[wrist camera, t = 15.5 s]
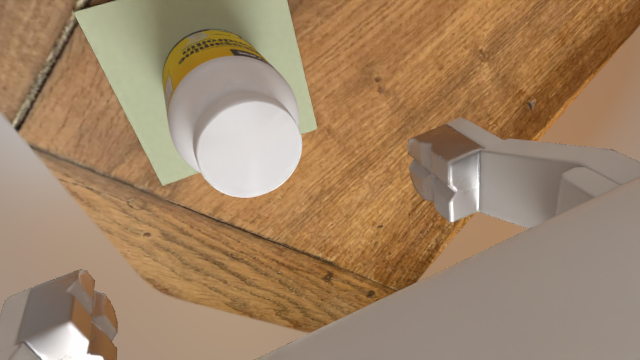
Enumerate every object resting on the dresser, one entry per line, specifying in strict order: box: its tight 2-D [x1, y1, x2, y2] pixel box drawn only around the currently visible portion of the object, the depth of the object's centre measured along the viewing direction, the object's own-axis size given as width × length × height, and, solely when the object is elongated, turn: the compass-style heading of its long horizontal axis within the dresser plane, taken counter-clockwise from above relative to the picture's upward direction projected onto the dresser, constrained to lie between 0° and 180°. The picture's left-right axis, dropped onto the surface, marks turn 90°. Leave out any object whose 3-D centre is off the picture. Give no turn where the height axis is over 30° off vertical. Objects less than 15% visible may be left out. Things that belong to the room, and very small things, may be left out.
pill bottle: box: [162, 29, 302, 197], centre depth 23 cm, size 6×6×12 cm
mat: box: [74, 0, 317, 186], centre depth 28 cm, size 12×12×1 cm
